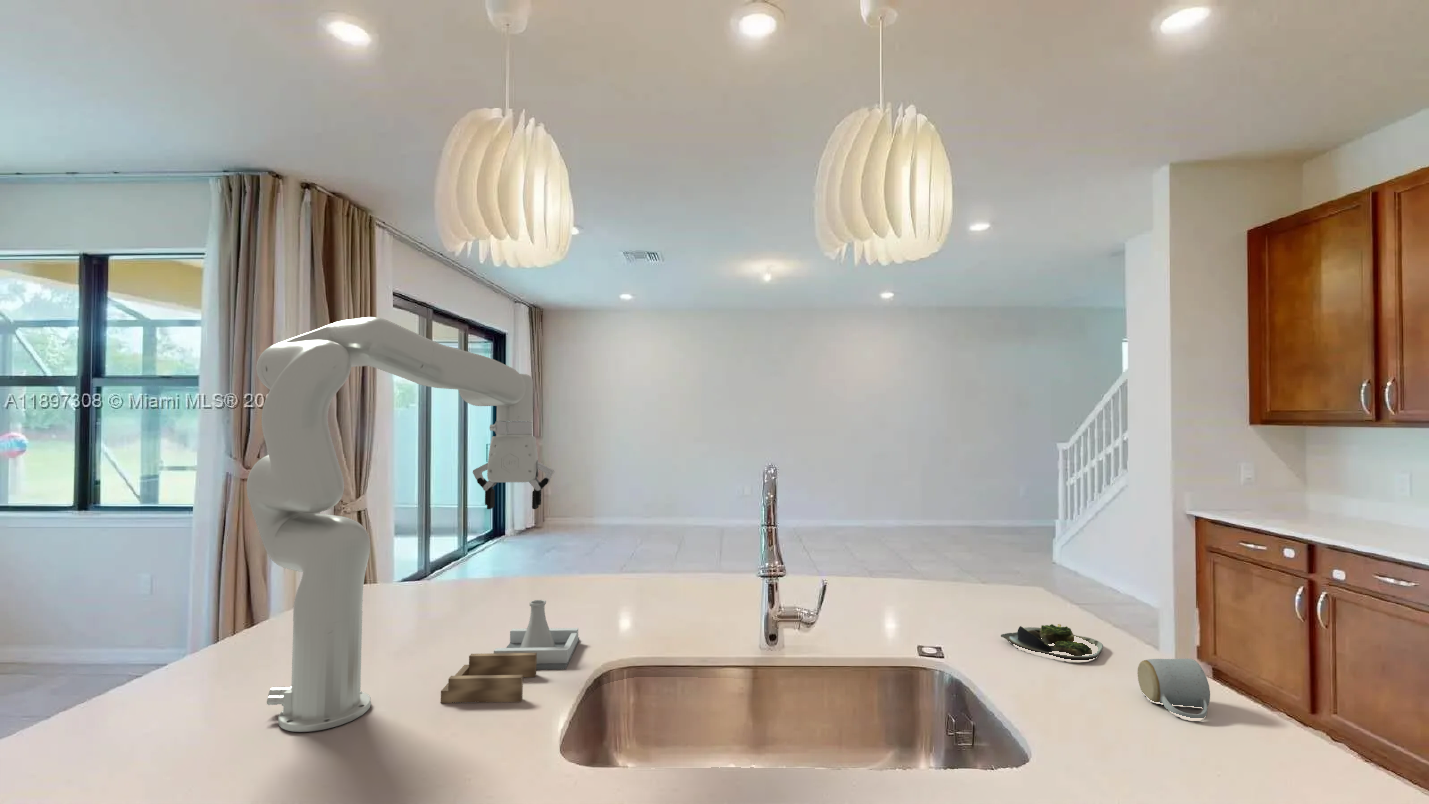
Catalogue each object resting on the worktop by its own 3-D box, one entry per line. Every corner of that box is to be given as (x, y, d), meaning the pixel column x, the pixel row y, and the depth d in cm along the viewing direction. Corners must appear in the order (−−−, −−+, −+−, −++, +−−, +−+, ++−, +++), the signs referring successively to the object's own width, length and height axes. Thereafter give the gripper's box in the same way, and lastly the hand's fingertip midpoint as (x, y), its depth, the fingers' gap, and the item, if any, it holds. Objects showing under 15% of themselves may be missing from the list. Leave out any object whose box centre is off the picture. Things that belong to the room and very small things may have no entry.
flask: (544, 659, 122) (545, 608, 122) (511, 656, 124) (512, 605, 124) (561, 646, 129) (562, 598, 129) (529, 644, 131) (530, 595, 131)
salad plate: (1026, 626, 147) (1026, 607, 147) (1114, 646, 134) (1114, 624, 134) (994, 647, 133) (994, 625, 133) (1088, 671, 121) (1088, 646, 121)
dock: (491, 670, 118) (491, 653, 118) (513, 640, 134) (513, 626, 134) (565, 669, 119) (565, 652, 119) (579, 640, 135) (579, 625, 135)
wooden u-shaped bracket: (440, 703, 104) (441, 678, 104) (464, 675, 116) (464, 653, 116) (520, 701, 105) (521, 677, 105) (536, 674, 116) (536, 652, 116)
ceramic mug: (1134, 692, 110) (1134, 649, 110) (1186, 696, 109) (1185, 652, 109) (1166, 722, 100) (1166, 673, 100) (1224, 727, 98) (1223, 677, 98)
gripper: (468, 430, 132) (466, 511, 132) (550, 430, 133) (549, 510, 133) (480, 429, 140) (478, 506, 139) (557, 430, 141) (556, 506, 140)
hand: (513, 508), depth 136 cm, fingers open, 9 cm apart
